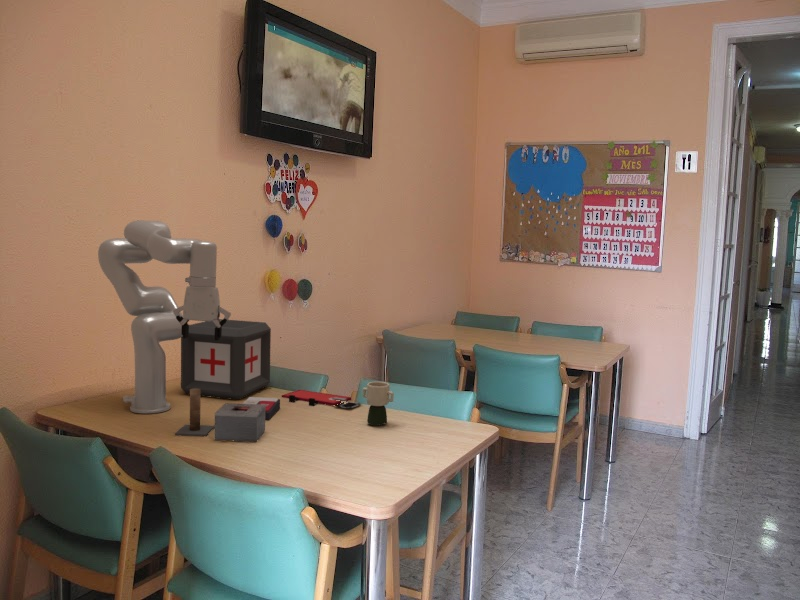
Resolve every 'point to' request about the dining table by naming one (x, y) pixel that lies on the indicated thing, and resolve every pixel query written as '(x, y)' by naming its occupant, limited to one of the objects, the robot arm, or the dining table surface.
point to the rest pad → (187, 432)
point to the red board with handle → (320, 398)
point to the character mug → (377, 401)
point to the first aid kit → (226, 359)
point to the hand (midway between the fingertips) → (201, 338)
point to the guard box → (240, 422)
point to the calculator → (270, 403)
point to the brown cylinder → (195, 409)
